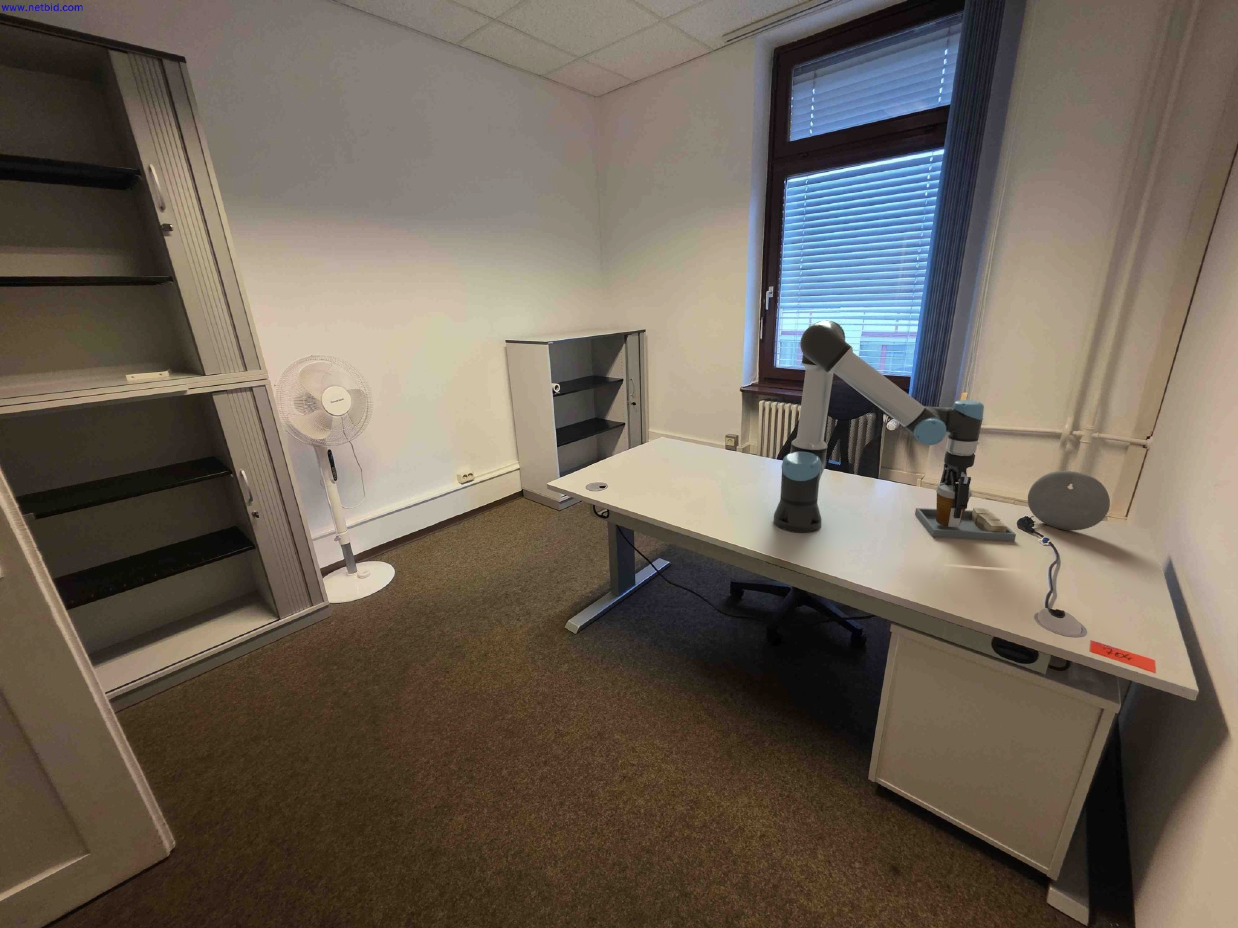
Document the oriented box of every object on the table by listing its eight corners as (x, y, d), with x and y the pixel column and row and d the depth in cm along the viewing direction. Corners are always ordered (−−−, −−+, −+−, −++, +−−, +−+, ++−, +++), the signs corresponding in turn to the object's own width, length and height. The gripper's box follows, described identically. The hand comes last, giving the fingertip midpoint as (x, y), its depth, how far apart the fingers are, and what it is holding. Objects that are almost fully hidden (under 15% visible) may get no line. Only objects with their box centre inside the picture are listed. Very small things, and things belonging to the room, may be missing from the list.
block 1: (974, 524, 156) (976, 512, 155) (971, 519, 160) (973, 507, 158) (989, 525, 155) (992, 514, 153) (985, 520, 158) (988, 509, 157)
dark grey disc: (1101, 533, 148) (1118, 475, 142) (1099, 541, 143) (1117, 482, 137) (1024, 516, 161) (1036, 462, 155) (1020, 524, 156) (1032, 468, 150)
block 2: (984, 531, 151) (986, 519, 150) (976, 525, 155) (978, 514, 154) (997, 531, 151) (1000, 519, 150) (989, 525, 155) (991, 514, 153)
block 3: (989, 537, 147) (991, 525, 146) (983, 531, 151) (985, 519, 150) (1004, 538, 147) (1007, 526, 145) (997, 532, 150) (1000, 520, 149)
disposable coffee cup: (971, 529, 150) (979, 493, 146) (937, 528, 152) (943, 492, 148) (957, 516, 159) (964, 482, 155) (925, 515, 161) (931, 481, 157)
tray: (932, 538, 150) (933, 529, 149) (914, 516, 165) (915, 508, 164) (1014, 543, 145) (1016, 534, 144) (988, 519, 160) (989, 511, 159)
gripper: (991, 463, 137) (976, 536, 144) (960, 442, 156) (948, 507, 164) (960, 462, 139) (947, 534, 146) (934, 442, 158) (923, 506, 165)
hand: (948, 520), depth 155 cm, fingers closed on disposable coffee cup, 8 cm apart
